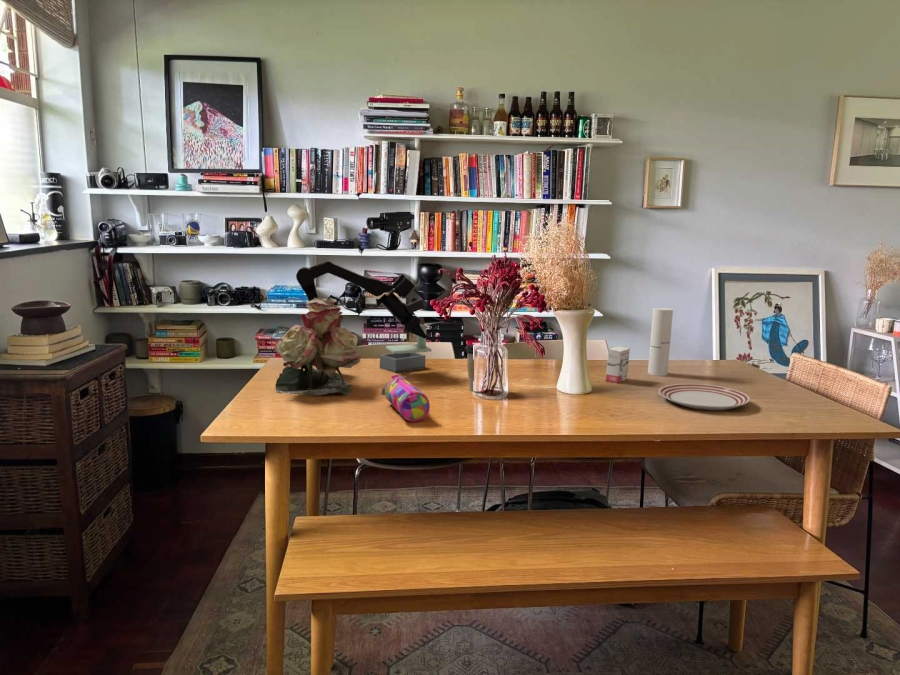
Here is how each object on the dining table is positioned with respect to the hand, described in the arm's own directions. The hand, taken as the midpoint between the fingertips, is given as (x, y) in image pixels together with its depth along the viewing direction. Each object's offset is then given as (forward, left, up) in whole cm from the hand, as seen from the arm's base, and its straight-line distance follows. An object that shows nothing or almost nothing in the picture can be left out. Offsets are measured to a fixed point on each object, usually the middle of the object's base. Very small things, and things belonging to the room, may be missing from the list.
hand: (425, 336), depth 242 cm
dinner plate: (+83, +48, -14) cm, 97 cm away
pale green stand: (-2, -6, -5) cm, 8 cm away
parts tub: (-11, -2, -13) cm, 18 cm away
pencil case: (+36, -36, -14) cm, 53 cm away
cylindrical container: (+52, +72, -14) cm, 90 cm away
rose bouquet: (-3, -41, -14) cm, 44 cm away
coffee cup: (+30, -1, -14) cm, 33 cm away
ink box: (+49, +50, -14) cm, 71 cm away
